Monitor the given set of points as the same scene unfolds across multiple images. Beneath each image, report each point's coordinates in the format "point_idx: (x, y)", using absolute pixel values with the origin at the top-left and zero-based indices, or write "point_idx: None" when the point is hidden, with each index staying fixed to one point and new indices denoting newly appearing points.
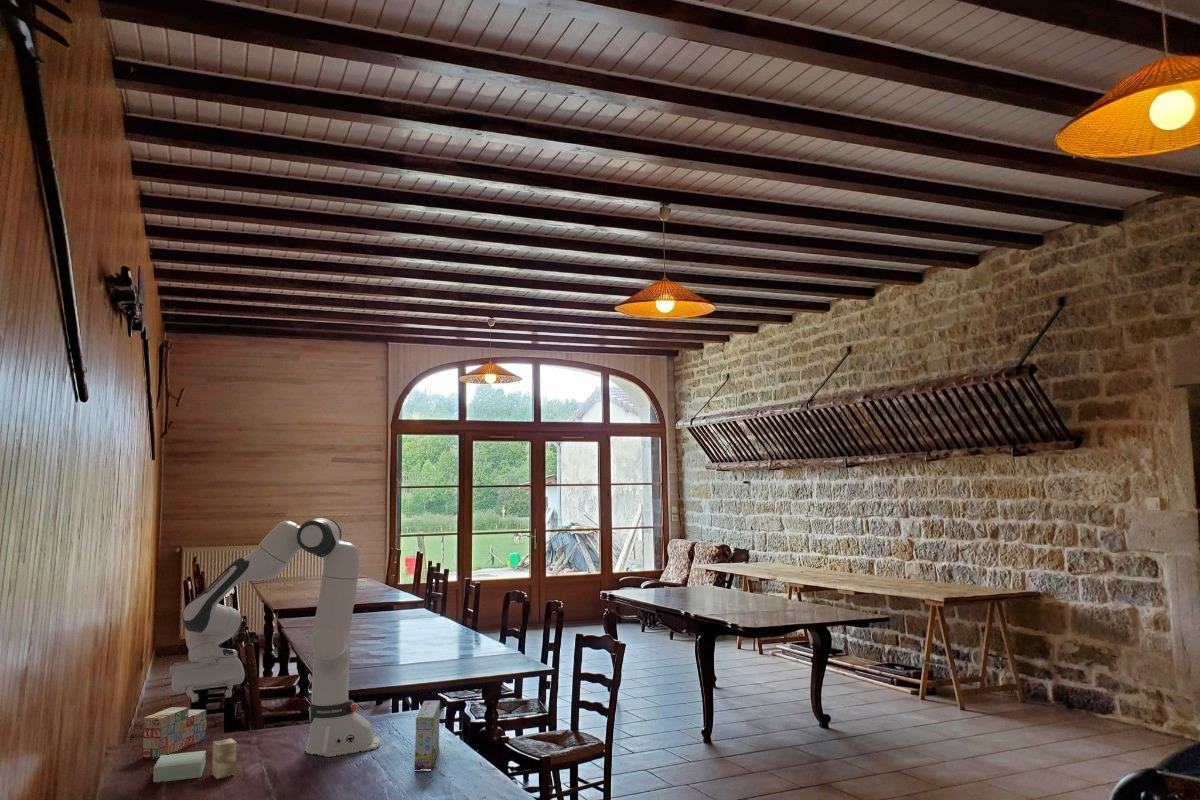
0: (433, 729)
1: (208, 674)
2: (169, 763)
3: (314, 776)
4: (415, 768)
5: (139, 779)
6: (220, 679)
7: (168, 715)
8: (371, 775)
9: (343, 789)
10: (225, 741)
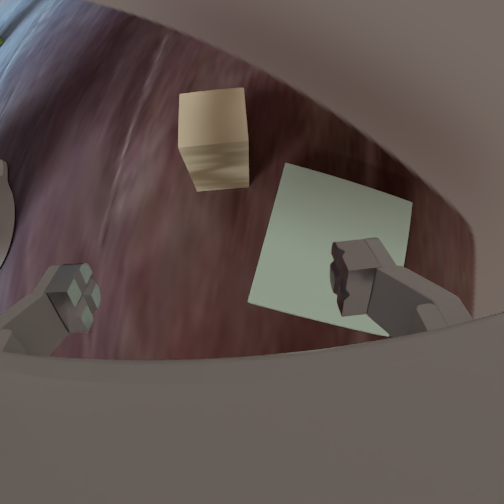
0: None
1: (189, 492)
2: (373, 217)
3: (81, 63)
4: (1, 38)
5: (422, 270)
6: (48, 363)
7: None
8: (34, 43)
9: (93, 6)
10: (208, 119)
